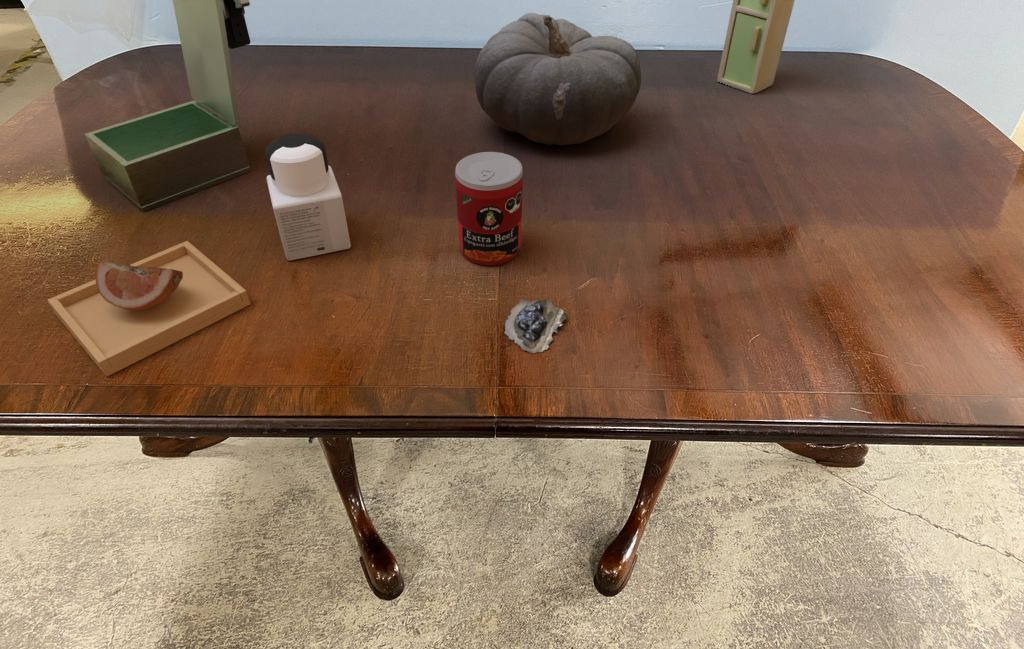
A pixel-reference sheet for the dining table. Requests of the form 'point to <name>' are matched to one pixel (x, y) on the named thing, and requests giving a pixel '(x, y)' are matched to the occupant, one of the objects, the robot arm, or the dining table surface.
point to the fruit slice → (135, 285)
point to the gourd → (556, 80)
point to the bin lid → (207, 55)
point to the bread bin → (169, 154)
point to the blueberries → (533, 324)
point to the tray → (150, 310)
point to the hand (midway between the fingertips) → (237, 44)
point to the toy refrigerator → (754, 43)
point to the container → (305, 197)
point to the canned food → (489, 207)
